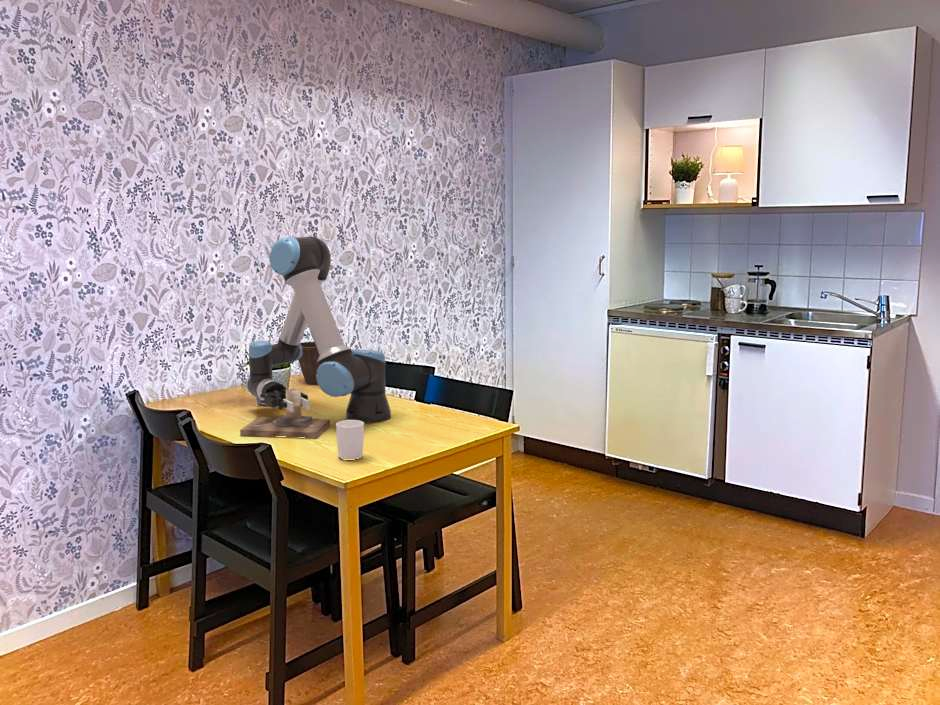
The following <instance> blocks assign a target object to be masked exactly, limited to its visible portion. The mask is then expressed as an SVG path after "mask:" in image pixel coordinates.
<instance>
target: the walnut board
mask: <svg viewBox="0 0 940 705" xmlns="http://www.w3.org/2000/svg"><path fill="white" fill-rule="evenodd" d="M277 418H278V417H270V416H258V417H256V418H255V419H253V420H252V421H251V422H249V423H248V424H246V425H245V426H243V427H242V428H241V429H240V430H239V434H240V437H255V438H257V437H259V438H276V437H275V436H286V437H305V438H317V437H318V436H319V435H320V434H321V433H322V432H323V431H324V430H325V431H326V430H327V429H328V428H329V427H330V426H331V419H330V418H328V419H327V418H312V423H311V424H310V425H309V426H308V427H285V426H276V422H275V420H276V419H277ZM325 431H324V432H325ZM324 432H323V433H324ZM323 433H322V434H323ZM322 434H321V435H322ZM321 435H320V436H321ZM272 436H273V437H272ZM320 436H319V437H320ZM319 437H318V438H319ZM305 438H304V439H305ZM318 438H317V439H318Z"/></svg>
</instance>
